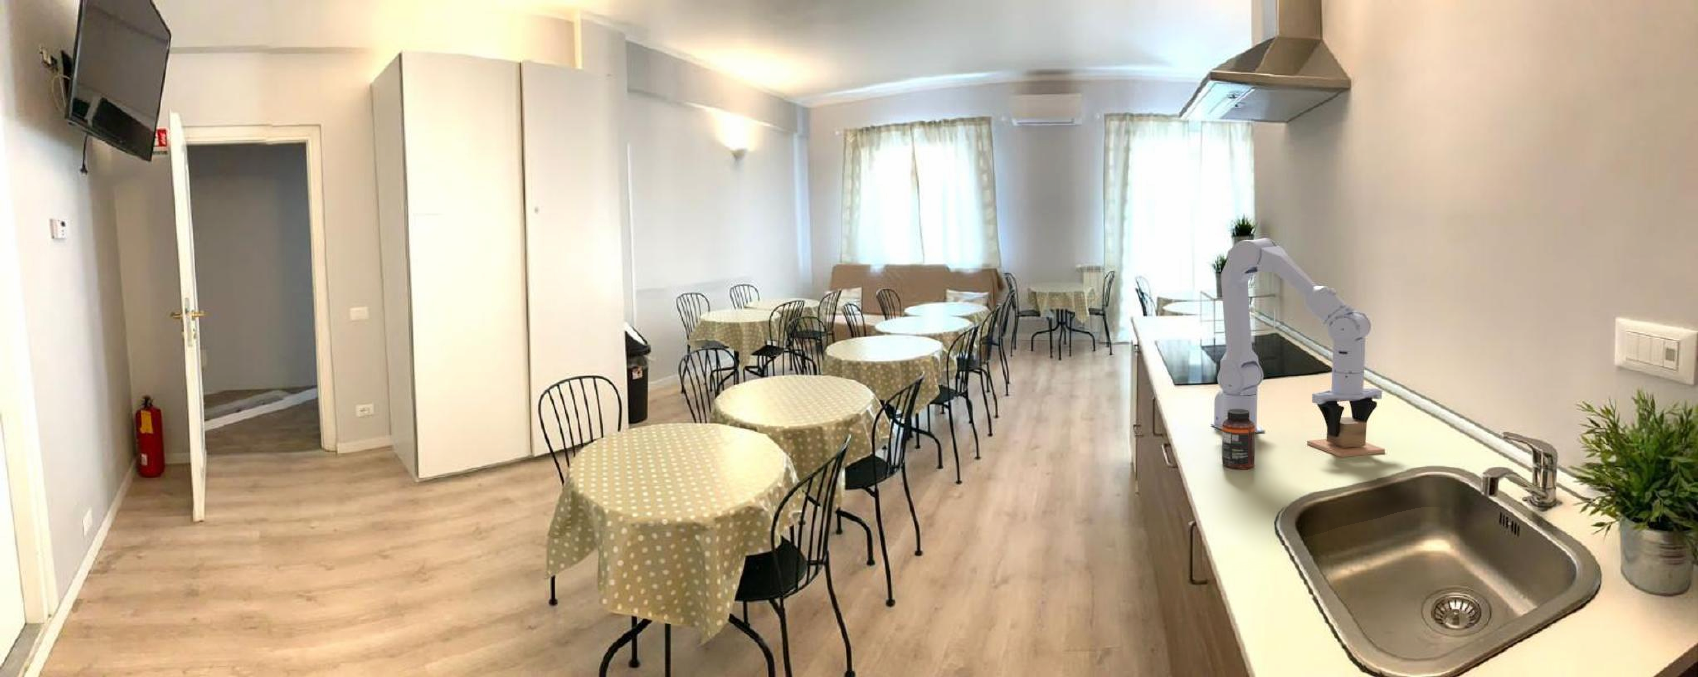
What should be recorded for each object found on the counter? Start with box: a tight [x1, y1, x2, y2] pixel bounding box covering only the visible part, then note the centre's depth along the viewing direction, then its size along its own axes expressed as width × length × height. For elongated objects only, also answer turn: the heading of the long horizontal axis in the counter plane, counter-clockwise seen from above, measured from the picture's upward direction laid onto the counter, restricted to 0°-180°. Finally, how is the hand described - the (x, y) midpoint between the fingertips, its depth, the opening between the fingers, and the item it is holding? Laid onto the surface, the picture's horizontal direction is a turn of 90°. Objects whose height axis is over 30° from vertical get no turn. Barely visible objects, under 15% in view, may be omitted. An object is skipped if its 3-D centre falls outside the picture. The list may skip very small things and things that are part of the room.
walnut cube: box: [1326, 416, 1368, 448], centre depth 174 cm, size 5×5×5 cm
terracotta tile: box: [1306, 438, 1386, 458], centre depth 175 cm, size 10×10×1 cm
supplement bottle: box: [1221, 409, 1256, 470], centre depth 167 cm, size 6×6×11 cm
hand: (1345, 434), depth 175 cm, fingers closed on walnut cube, 5 cm apart
